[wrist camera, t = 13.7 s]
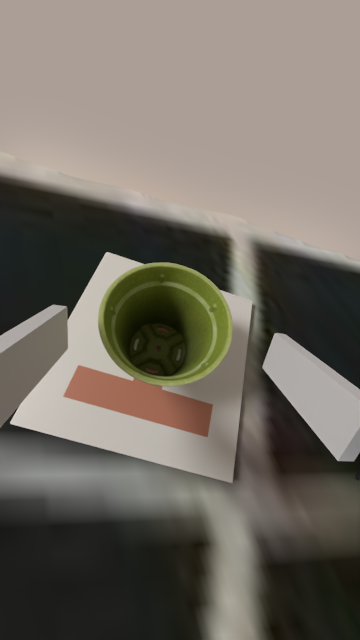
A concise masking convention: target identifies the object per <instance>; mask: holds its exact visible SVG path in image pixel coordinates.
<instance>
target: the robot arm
mask: <svg viewBox="0 0 360 640" xmlns="http://www.w3.org/2000/svg"><path fill="white" fill-rule="evenodd" d="M67 349H68V324H67V307H66V306H58V305H52V306H50V307H48V308H47V309H45V310H43V311H42V312H40V313H38V314H36V315H35V316H33V317H31V318H30V319H28V320H26V321H25V322H23V323H21V324H19V325H18V326H16V327H14V328H13V329H11V330H9V331H8V332H6V333H4V334H3V335H1V336H0V427H1V426H2V425H3V424H4V423H5V421H6V420H7V419H8V418H9V417H10V416H11V414H12V413H13V412H14V411H15V410H16V409H17V407H18V406H19V405H20V404H21V403H22V402H23V400H24V399H25V398H26V397H27V396H28V395H29V393H30V392H31V391H32V390H33V389H34V388H35V386H36V385H37V384H38V383H39V382H40V381H41V380H42V378H43V377H44V376H45V375H46V374H47V373H48V371H49V370H50V369H51V368H52V367H53V366H54V364H55V363H56V362H57V361H58V360H59V359H60V357H61V356H62V355H63V354H64V353H65V352H66V350H67ZM262 368H263V369H264V370H265V372H266V373H267V374H268V375H269V377H270V378H271V379H272V380H273V382H274V383H275V384H276V385H277V386H278V388H279V389H280V390H281V391H282V393H283V394H284V395H285V396H286V398H287V399H288V400H289V401H290V403H291V404H292V405H293V406H294V407H295V409H296V410H297V411H298V412H299V414H300V415H301V416H302V417H303V419H304V420H305V421H306V422H307V423H308V425H309V426H310V427H311V428H312V430H313V431H314V432H315V433H316V435H317V436H318V437H319V438H320V440H321V441H322V442H323V443H324V444H325V446H326V447H327V448H328V449H329V451H330V452H331V453H332V454H333V456H334V457H335V458H336V459H337V460H338V461H354V460H355V459H356V457H357V456H358V454H359V453H360V389H358V388H357V387H356V386H354V385H353V384H352V383H350V382H349V381H348V380H346V379H345V378H344V377H342V376H341V375H339V374H338V373H337V372H335V371H334V370H333V369H331V368H330V367H329V366H327V365H326V364H325V363H323V362H322V361H321V360H319V359H318V358H317V357H315V356H314V355H312V354H311V353H310V352H308V351H307V350H306V349H304V348H303V347H302V346H300V345H299V344H298V343H296V342H295V341H294V340H292V339H291V338H290V337H288V336H287V335H285V334H279V333H275V334H274V337H273V339H272V342H271V345H270V347H269V350H268V353H267V356H266V358H265V361H264V364H263V367H262ZM355 479H357V480H359V479H360V470H359V471H358V472H357V474H356V477H355Z"/></svg>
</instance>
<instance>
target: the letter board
mask: <svg viewBox="0 0 360 640" xmlns="http://www.w3.org/2000/svg"><path fill="white" fill-rule="evenodd" d="M141 265H144V264H142V263H139V262H136V261H133V260H130V259H127V258H124V257H121V256H118V255H115V254H112V253H109V252H106V254H105V255H104V257H103V259H102V261H101V262H100V264H99V266H98V268H97V270H96V271H95V273H94V275H93V277H92V278H91V280H90V282H89V284H88V286H87V287H86V289H85V291H84V293H83V294H82V296H81V298H80V300H79V301H78V303H77V305H76V307H75V309H74V310H73V312H72V314H71V316H70V317H69V319H68V321H67V324H68V349H67V350H66V352H65V353H64V354H63V355H62V356H61V357H60V359H59V360H58V361H57V362H56V363H55V364H54V366H53V367H52V368H51V369H50V370H49V371H48V373H47V374H46V375H45V376H44V377H43V378H42V380H41V381H40V382H39V383H38V384H37V385H36V386H35V388H34V389H33V390H32V391H31V392H30V393H29V395H28V396H27V397H26V398H25V399H24V400H23V402H22V403H21V404H20V406H19V408H18V410H17V411H16V413H15V415H14V417H13V418H12V420H11V422H10V424H13V425H17V426H20V427H24V428H28V429H32V430H35V431H39V432H43V433H47V434H50V435H54V436H58V437H61V438H65V439H69V440H73V441H76V442H80V443H84V444H88V445H91V446H95V447H99V448H103V449H106V450H110V451H114V452H118V453H121V454H125V455H129V456H133V457H136V458H140V459H144V460H147V461H151V462H155V463H159V464H162V465H166V466H170V467H174V468H177V469H181V470H185V471H189V472H192V473H196V474H200V475H204V476H207V477H211V478H215V479H218V480H222V481H226V482H230V483H232V482H233V473H234V464H235V455H236V446H237V437H238V428H239V419H240V409H241V400H242V391H243V382H244V373H245V364H246V355H247V346H248V337H249V328H250V318H251V309H252V301H251V300H248V299H245V298H242V297H239V296H236V295H233V294H230V293H227V292H224V291H221V290H220V292H221V293H222V295H223V296H224V298H225V300H226V302H227V303H228V305H229V308H230V311H231V316H232V322H233V333H232V341H231V345H230V348H229V350H228V352H227V354H226V356H225V358H224V359H223V361H222V362H221V363H220V364H219V366H218V367H217V368H216V369H215V370H214V371H212V372H211V373H210V374H208V375H207V376H205V377H204V378H202V379H200V380H198V381H195V382H193V383H189V384H186V385H181V386H171V387H165V386H156V385H151V384H148V383H145V382H142V381H140V380H137V379H135V378H133V377H132V376H130V375H128V374H127V373H126V372H124V371H123V370H122V369H121V368H119V367H118V366H117V365H116V364H115V362H114V361H113V360H112V359H111V357H110V356H109V355H108V353H107V351H106V349H105V347H104V345H103V343H102V340H101V337H100V333H99V328H98V312H99V307H100V304H101V301H102V298H103V296H104V294H105V292H106V290H107V289H108V288H109V286H110V285H111V284H112V283H113V282H114V281H115V280H116V279H117V278H118V277H119V276H121V275H122V274H123V273H125V272H127V271H128V270H130V269H132V268H134V267H138V266H141ZM157 330H161V331H164V332H167V333H169V331H168V330H167V329H165V328H161V327H159V328H157ZM139 340H140V339H136V341H135V344H134V349H135V350H136V349H137V344H138V342H139ZM156 350H157V351H160V347H159V346H157V347H156ZM180 353H181V350H180V349H178V355H177V358H176V360H177V361H178V360H179V359H180V356H181V355H180ZM146 371H148V372H150V373H158V372H159V371H157V370H152V369H150V368H146Z"/></svg>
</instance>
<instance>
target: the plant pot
mask: <svg viewBox="0 0 360 640" xmlns="http://www.w3.org/2000/svg"><path fill="white" fill-rule="evenodd" d="M159 327H161V328H165V329H167V330H168V331H169V333H167V332H164V331H161V330H157V328H159ZM98 328H99V333H100V337H101V340H102V343H103V345H104V347H105V349H106V351H107V353H108V355H109V356H110V357H111V359H112V360H113V361H114V362H115V364H116V365H117V366H118V367H119V368H121V369H122V370H123V371H124V372H126V373H127V374H128V375H130V376H132V377H133V378H135V379H137V380H140V381H142V382H145V383H148V384H151V385H156V386H165V387H171V386H181V385H186V384H189V383H193V382H195V381H198V380H200V379H202V378H204V377H205V376H207V375H208V374H210V373H211V372H212V371H214V370H215V369H216V368H217V367H218V366H219V364H220V363H221V362H222V361H223V359H224V358H225V356H226V354H227V352H228V350H229V348H230V345H231V341H232V333H233V322H232V316H231V311H230V308H229V305H228V303H227V302H226V300H225V298H224V296H223V295H222V293H221V292H220V290H219V289H218V288H217V287H216V286H215V285H214V284H213V283H212V282H211V281H210V280H209V279H208V278H206V277H205V276H204V275H202V274H200V273H199V272H197V271H195V270H193V269H191V268H187V267H185V266H182V265H178V264H173V263H150V264H145V265H141V266H138V267H134V268H132V269H130V270H128V271H127V272H125V273H123V274H122V275H121V276H119V277H118V278H117V279H116V280H115V281H114V282H113V283H112V284H111V285H110V286H109V288H108V289H107V290H106V292H105V294H104V296H103V298H102V301H101V304H100V307H99V312H98ZM136 339H140V340H139V342H138V344H137V349H136V350H135V349H134V344H135V341H136ZM157 346H159V347H160V351H157V350H156V347H157ZM178 349H180V350H181V353H180V355H181V356H180V359H179V360H178V361H177V360H176V358H177V355H178ZM146 368H150V369H152V370H157V371H159V372H158V373H150V372H148V371H146Z"/></svg>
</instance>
